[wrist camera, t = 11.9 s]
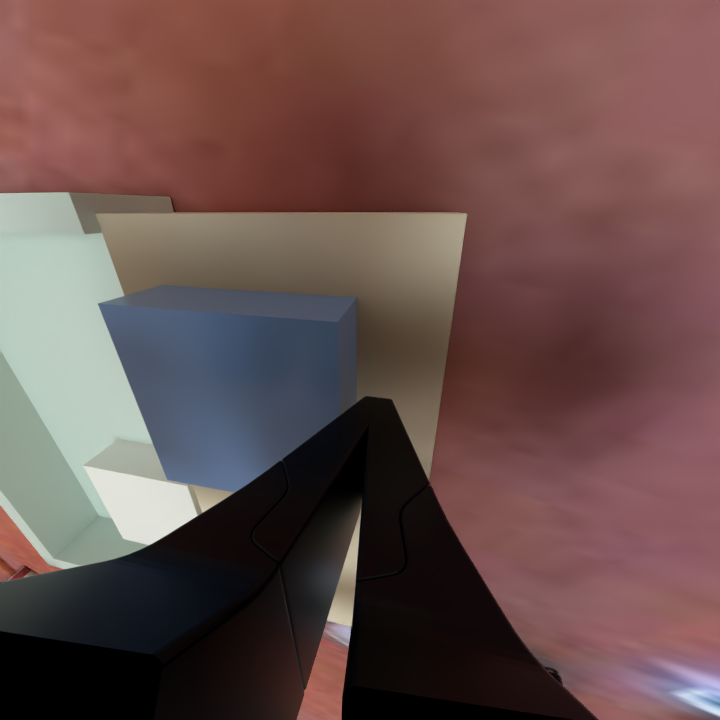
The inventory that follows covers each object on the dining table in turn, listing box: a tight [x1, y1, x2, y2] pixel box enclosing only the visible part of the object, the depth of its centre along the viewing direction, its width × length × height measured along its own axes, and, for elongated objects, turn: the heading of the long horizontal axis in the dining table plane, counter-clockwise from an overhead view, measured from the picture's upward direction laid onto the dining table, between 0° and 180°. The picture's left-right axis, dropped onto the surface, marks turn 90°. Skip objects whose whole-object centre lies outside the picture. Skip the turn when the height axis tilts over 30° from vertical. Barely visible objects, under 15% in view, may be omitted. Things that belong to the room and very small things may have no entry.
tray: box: [0, 192, 174, 569], centre depth 15 cm, size 21×13×4 cm, turn 0°
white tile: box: [83, 439, 202, 545], centre depth 17 cm, size 6×6×2 cm
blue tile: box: [98, 285, 357, 493], centre depth 9 cm, size 6×6×2 cm
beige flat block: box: [95, 212, 467, 627], centre depth 13 cm, size 20×10×3 cm, turn 0°
